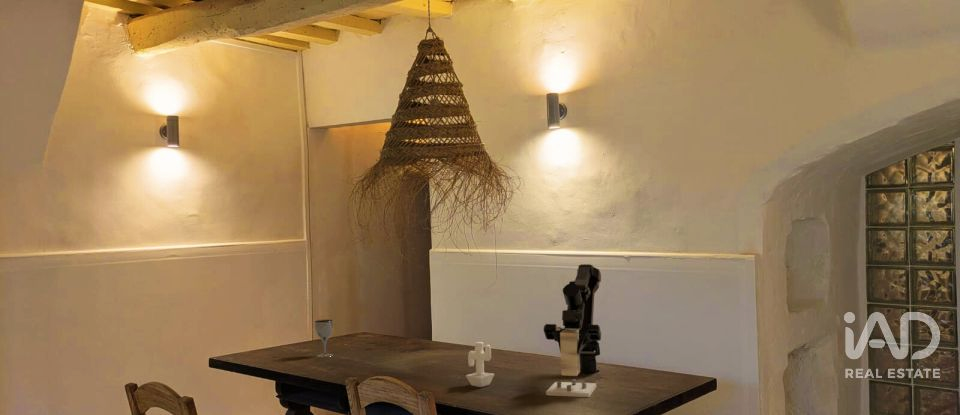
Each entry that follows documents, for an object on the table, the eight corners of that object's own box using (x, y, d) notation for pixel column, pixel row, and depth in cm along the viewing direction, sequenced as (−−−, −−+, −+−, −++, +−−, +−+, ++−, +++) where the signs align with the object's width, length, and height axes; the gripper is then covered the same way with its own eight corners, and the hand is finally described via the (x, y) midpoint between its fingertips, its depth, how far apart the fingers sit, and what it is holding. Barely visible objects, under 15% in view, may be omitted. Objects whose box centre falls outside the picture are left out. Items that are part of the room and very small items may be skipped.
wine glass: (325, 353, 349) (324, 318, 349) (338, 354, 344) (337, 320, 344) (311, 356, 343) (310, 321, 342) (324, 358, 338) (323, 322, 338)
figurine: (476, 381, 285) (475, 339, 285) (497, 384, 279) (496, 341, 279) (463, 385, 279) (462, 342, 279) (484, 388, 273) (482, 344, 273)
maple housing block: (564, 371, 269) (563, 330, 269) (580, 372, 268) (578, 330, 267) (561, 375, 264) (560, 333, 264) (577, 375, 263) (575, 333, 262)
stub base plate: (555, 385, 275) (555, 377, 275) (596, 386, 271) (596, 378, 271) (546, 395, 262) (546, 386, 262) (589, 397, 257) (588, 388, 257)
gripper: (543, 300, 272) (537, 338, 262) (598, 300, 267) (594, 339, 256) (549, 319, 280) (543, 357, 270) (603, 320, 274) (598, 359, 264)
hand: (569, 353), depth 265 cm, fingers closed on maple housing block, 5 cm apart
